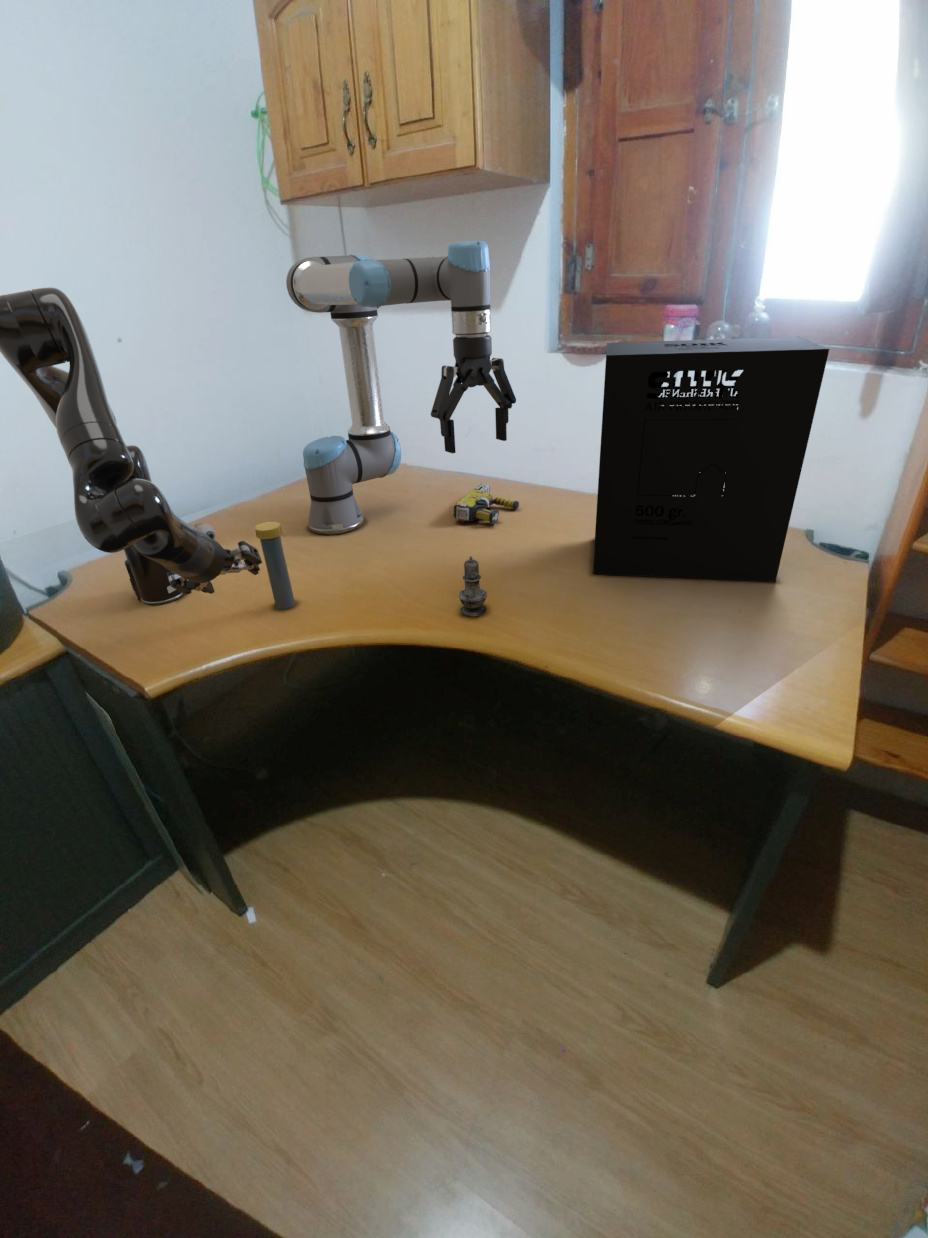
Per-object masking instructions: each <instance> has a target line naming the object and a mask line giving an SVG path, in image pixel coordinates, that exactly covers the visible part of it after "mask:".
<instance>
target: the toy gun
mask: <svg viewBox="0 0 928 1238" xmlns="http://www.w3.org/2000/svg"><path fill="white" fill-rule="evenodd" d="M493 505H495V506H500V507H504V508H510V509H512V510H514V511H516V510H518V509H519V507H520V502H519V501H518V500H512V499H508V498H504V497H500V496H496V497H495V498H493V496H492V494H491V485H490V484H488V483H486V484H485V483H482V482H481V483H480V484H479V485H477V486H476V487H475V488H473V489H471V491H469V492H468V493H467V494H465V496H464V497H462V498H461V499H460V500H459V501H458V502H456V503H455V504H454V505H453V511H452V513H453V514H452V517H453V518H454V519H455V520H457V522H462V523H464V522H465V521H467V522H471V521H477V520H482V521H483V520H484V521H486V522H489V525H492V526H493V524H495V523H497V522H498V521H499V515H500V509H498V508H494V510H493V509H492V507H491V506H493Z"/></svg>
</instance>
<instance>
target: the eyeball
mask: <svg viewBox="0 0 928 1238" xmlns="http://www.w3.org/2000/svg"><path fill="white" fill-rule="evenodd" d="M193 527H195V528H197V529H199V530H200V531H202V532H203V533H204V534H206V535H207V536H209V537H210V538H212V539H213V540H215V541H216V538H217V537H216V535H217V534H216V530H215V529H214V527H213V526H212V525H211V524H208V523H206V522H200V523H199V522H198V523H197V524H195V525H193Z"/></svg>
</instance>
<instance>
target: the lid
mask: <svg viewBox="0 0 928 1238" xmlns="http://www.w3.org/2000/svg"><path fill="white" fill-rule="evenodd" d="M254 532H255V536H256V538H257V539H259V540H260V539H272V538H276V537H278V536H280V537H281V535H282V534H283V530H282V526H281V524H280V522H278V521H266V522H262V523H259V524H257V525H256V526H254Z"/></svg>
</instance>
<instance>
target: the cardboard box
mask: <svg viewBox="0 0 928 1238" xmlns="http://www.w3.org/2000/svg"><path fill="white" fill-rule="evenodd" d="M605 351H606V352H605V367H604V369H605V370H604V383H603V384H604V385H603V399H602V400H603V401H602V415H601V431H600V433H601V434H600V448H599V465H598V481H597V497H596V511H595V512H596V514H595V529H594V531H595V532H594V547H593V548H594V550H593V566H592V575H608V576H628V577H629V576H631V577H654V578H655V577H656V578H675V579H676V578H677V579H678V578H679V579H701V580H702V579H703V580H724V581H725V580H726V581H747V582H770V583H776V582H777V577H778V573H779V568H780V565H781V560H782V556H783V552H784V547H785V543H786V538H787V534H788V531H789V530H788V529H789V525H790V521H791V518H792V517H791V516H792V514H793V513H792V512H793V508H794V504H795V500H796V496H797V491H798V488H799V482H800V477H801V474H802V470H803V465H804V460H805V456H806V453H807V448H808V444H809V440H810V435H811V431H812V427H813V422H814V418H815V414H816V409H817V405H818V400H819V397H820V391H821V387H822V383H823V380H824V379H823V378H824V375H825V370H826V366H827V363H828V362H827V361H828V358H829V353H830V348H828V347H826V346H824V345H820V344H819V343H815V342H813V341H811V340H808V339H805V338H803V337H800V336H780V337H778V336H775V337H749V338H748V337H747V338H745V337H744V338H721V339H720V338H717V339H716V338H715V339H689V340H688V339H687V340H684V339H683V340H657V341H655V340H654V341H628V342H627V341H626V342H624V341H623V342H607V343H606V349H605ZM720 371H721V372H720ZM737 371H742V372H740V374H739V375H734V374H735V373H736V372H737ZM678 372H682V376H681V377H680V382H679V385H677V386H676V382H677V377H676V374H677V373H678ZM689 372H694V373H693V382H695V385H691V384H692V376H689ZM702 372H705V375H704V376H702V374H703V373H702ZM719 375H720V379H719ZM724 375H725V377H724ZM723 378H724V382H734V383H733V385H725V384H723ZM705 382H710V385H704V384H705ZM664 383H665V384H666V383H667V386H663V385H664Z"/></svg>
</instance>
